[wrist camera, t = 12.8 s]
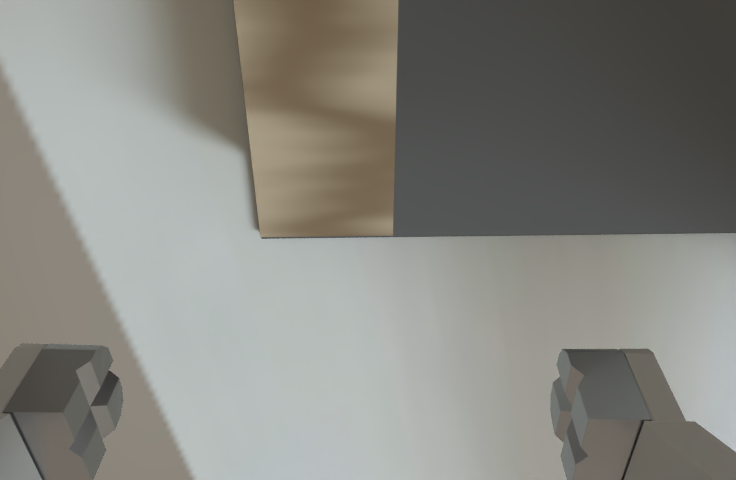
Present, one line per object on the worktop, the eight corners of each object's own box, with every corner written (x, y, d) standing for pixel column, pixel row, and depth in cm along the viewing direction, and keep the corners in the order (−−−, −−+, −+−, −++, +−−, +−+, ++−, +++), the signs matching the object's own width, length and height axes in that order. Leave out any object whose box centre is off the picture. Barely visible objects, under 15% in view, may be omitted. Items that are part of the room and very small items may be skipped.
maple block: (387, 172, 26) (392, -150, 20) (392, 235, 22) (401, -138, 16) (274, 173, 26) (243, -150, 19) (260, 237, 22) (216, -138, 16)
